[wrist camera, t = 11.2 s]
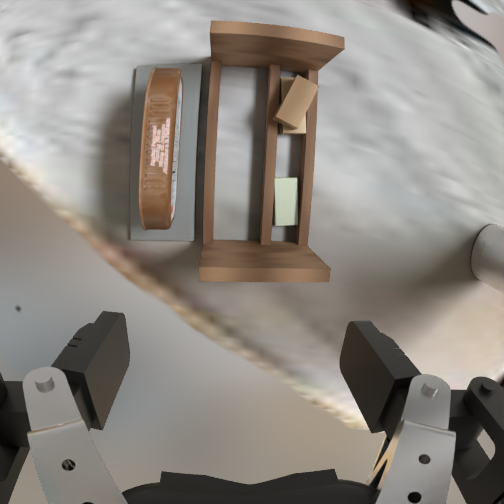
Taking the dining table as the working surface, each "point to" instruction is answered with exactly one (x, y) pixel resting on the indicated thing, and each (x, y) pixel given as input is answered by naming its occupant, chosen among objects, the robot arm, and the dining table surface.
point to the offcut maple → (284, 87)
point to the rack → (265, 152)
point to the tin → (160, 148)
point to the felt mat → (186, 178)
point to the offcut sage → (285, 201)
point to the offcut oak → (296, 102)
